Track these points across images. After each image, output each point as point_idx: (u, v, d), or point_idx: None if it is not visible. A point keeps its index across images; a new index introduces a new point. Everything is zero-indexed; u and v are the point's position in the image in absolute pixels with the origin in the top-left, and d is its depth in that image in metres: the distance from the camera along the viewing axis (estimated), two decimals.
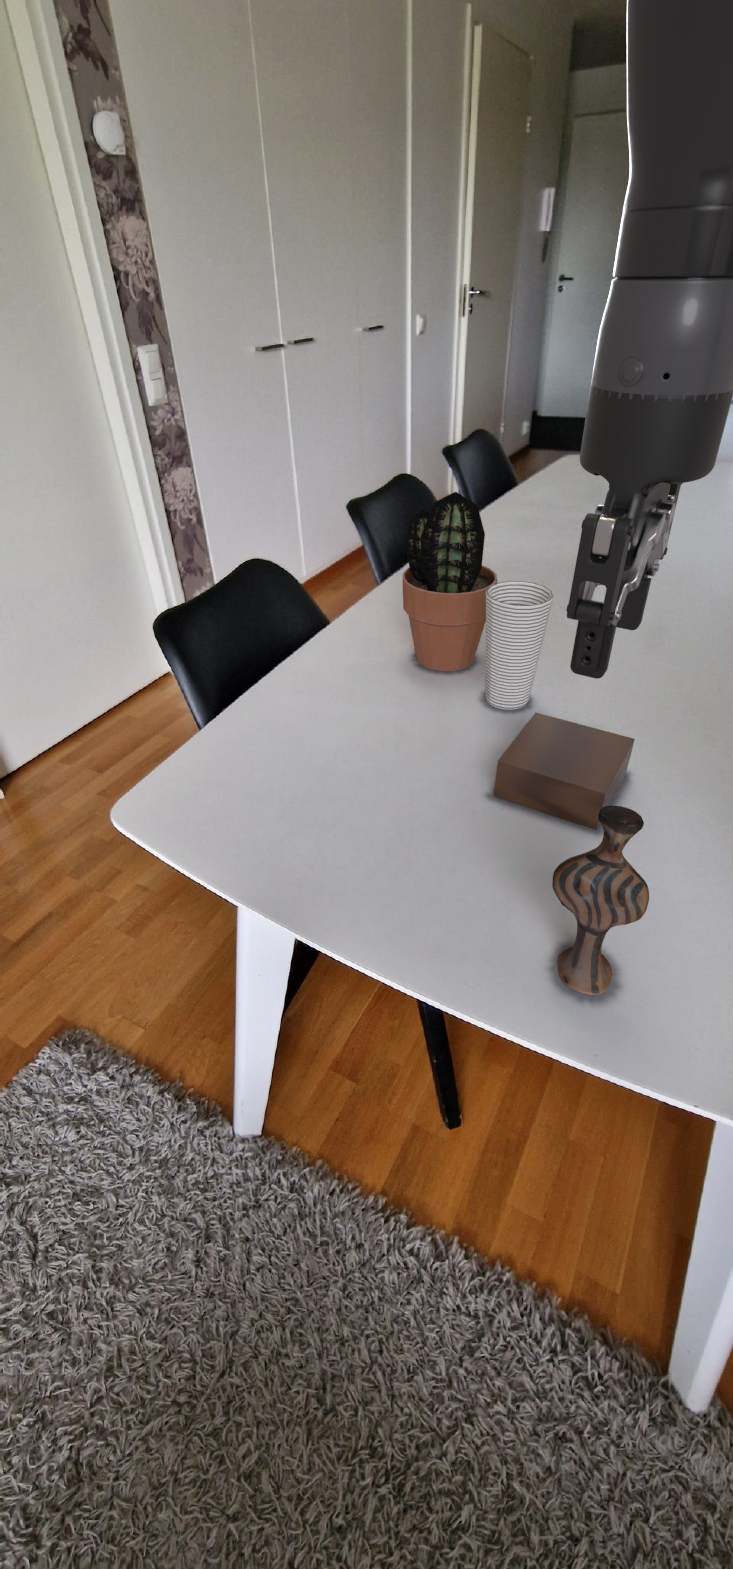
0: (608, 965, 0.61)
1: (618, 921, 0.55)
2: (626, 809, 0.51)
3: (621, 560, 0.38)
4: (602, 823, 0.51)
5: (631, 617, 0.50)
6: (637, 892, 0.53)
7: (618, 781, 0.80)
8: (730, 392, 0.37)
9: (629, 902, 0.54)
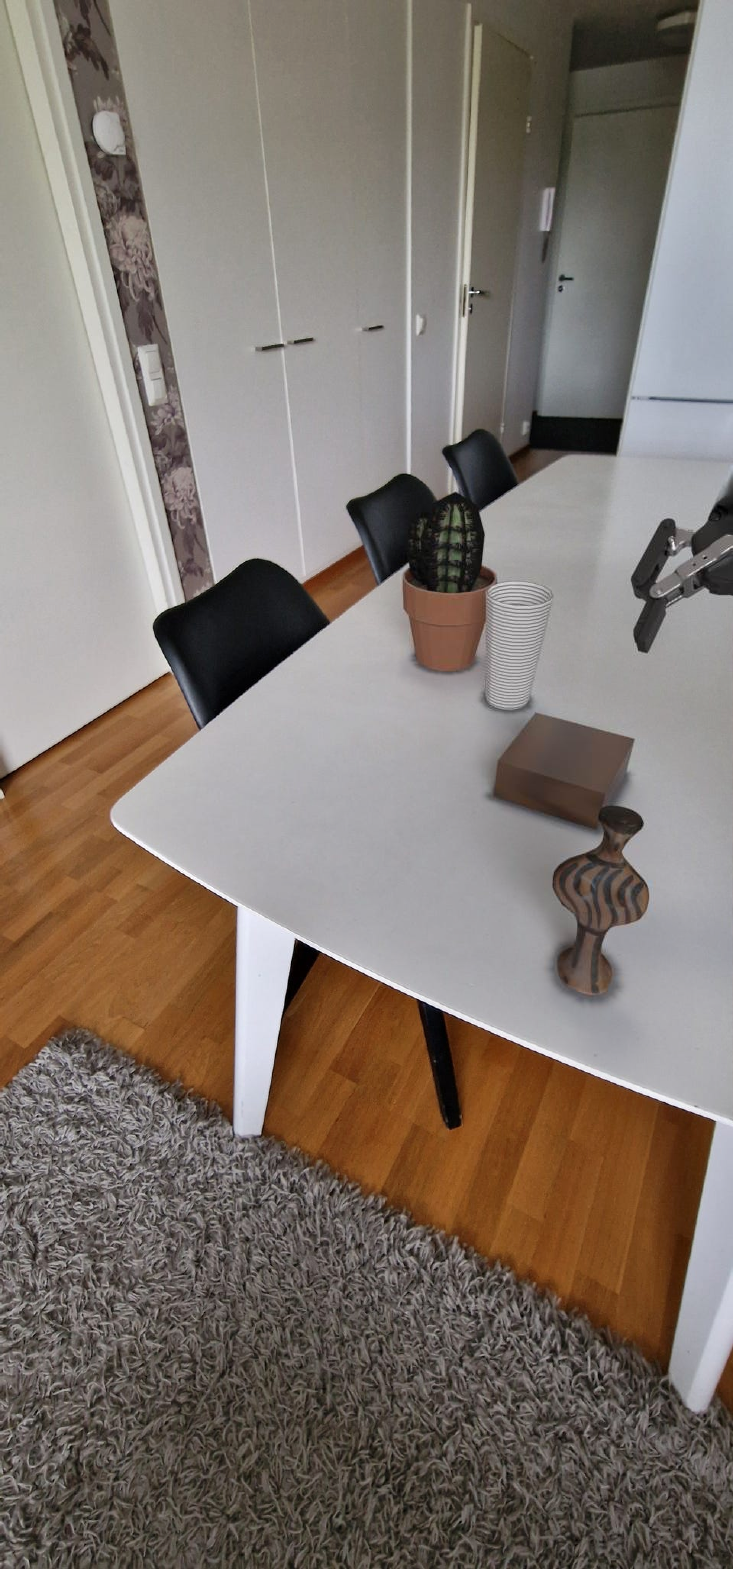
0: (608, 965, 0.61)
1: (618, 921, 0.55)
2: (626, 809, 0.51)
3: (653, 540, 0.56)
4: (602, 823, 0.51)
5: None
6: (637, 892, 0.53)
7: (618, 781, 0.80)
8: None
9: (629, 902, 0.54)
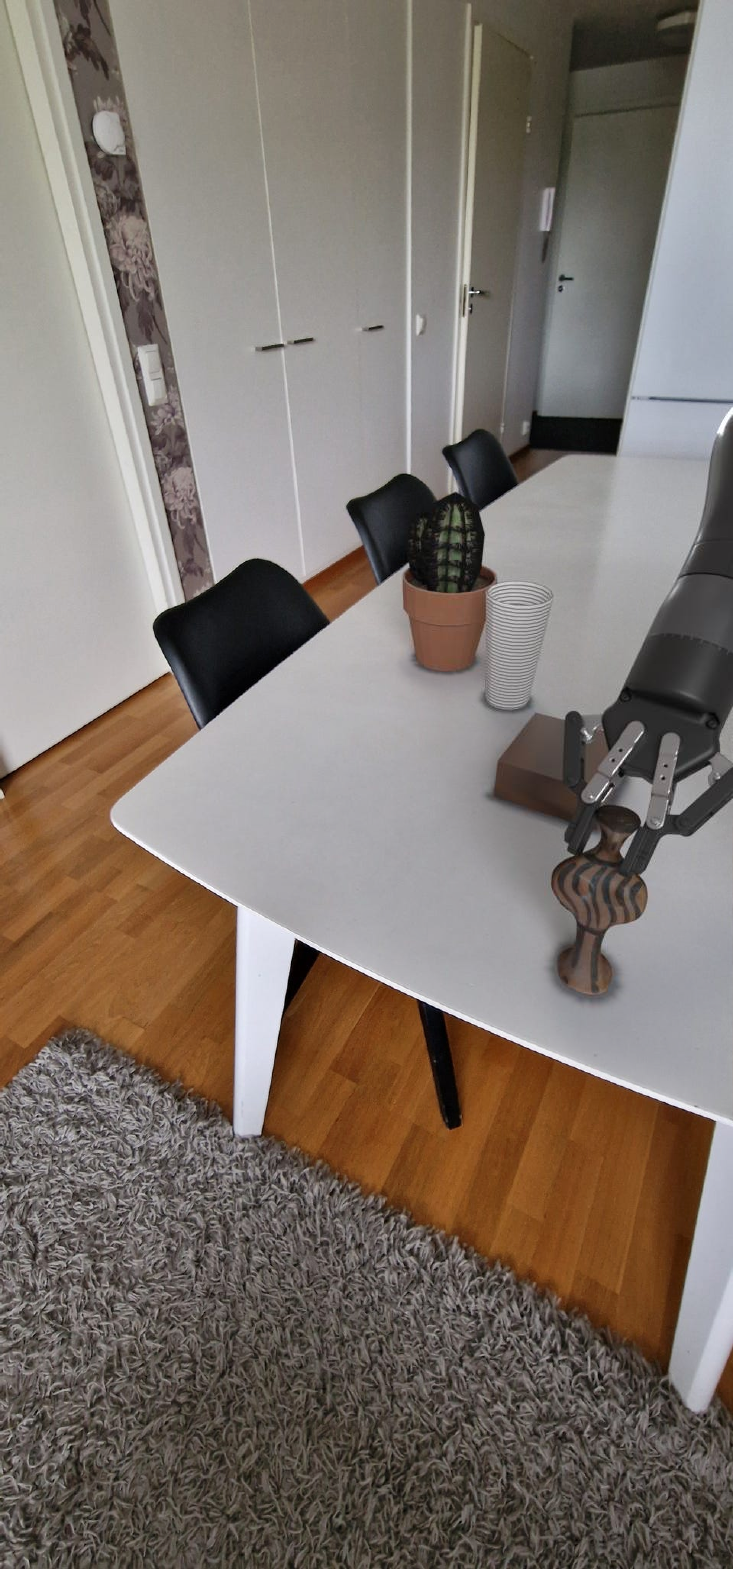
0: (608, 965, 0.61)
1: (617, 921, 0.55)
2: (623, 808, 0.51)
3: (566, 737, 0.54)
4: (599, 822, 0.51)
5: None
6: (635, 891, 0.53)
7: None
8: (683, 635, 0.49)
9: (628, 901, 0.54)
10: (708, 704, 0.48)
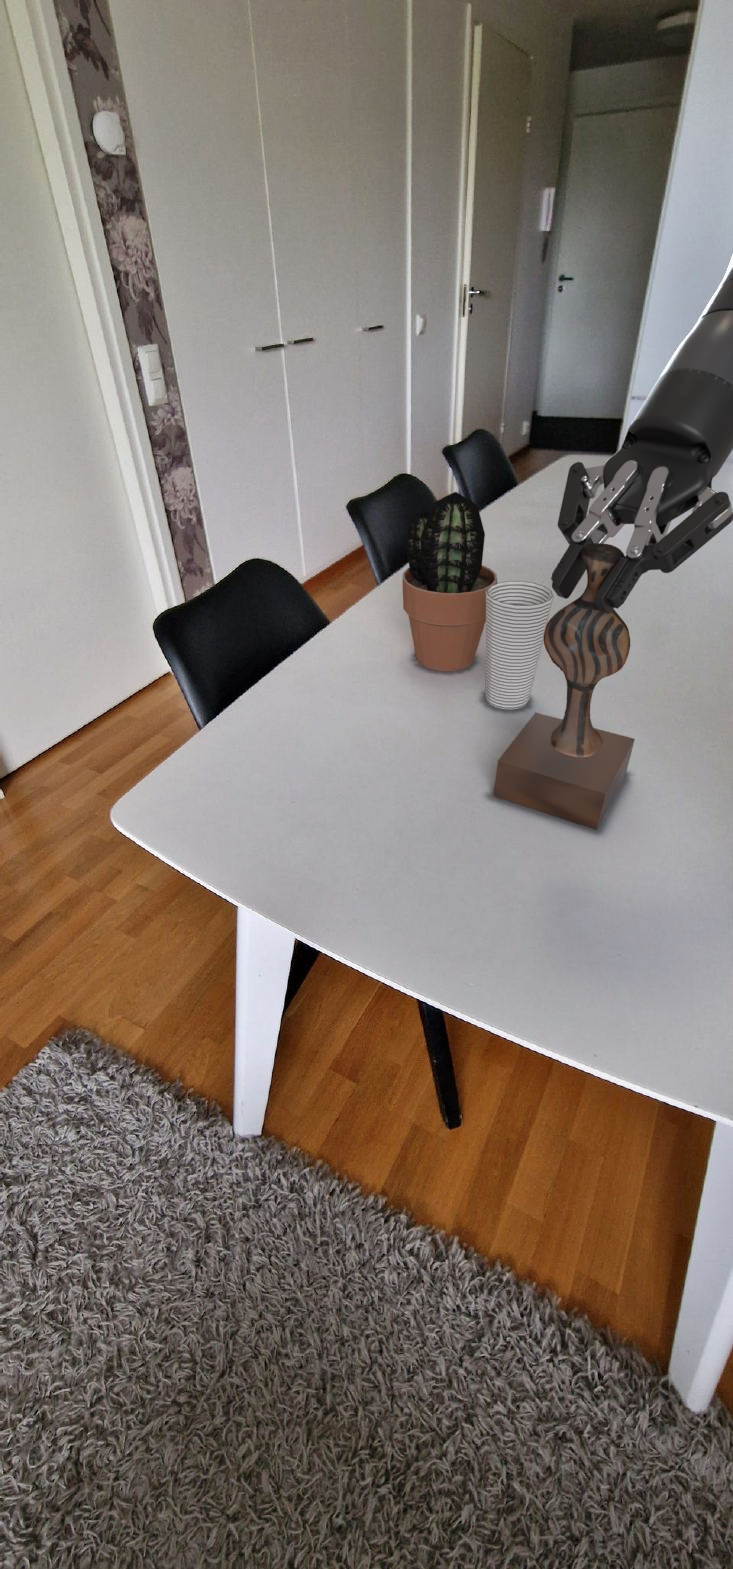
0: (599, 737, 0.63)
1: (601, 672, 0.57)
2: None
3: (567, 486, 0.56)
4: (583, 556, 0.53)
5: None
6: (617, 635, 0.55)
7: (618, 781, 0.80)
8: (683, 369, 0.50)
9: (610, 647, 0.56)
10: (698, 433, 0.50)
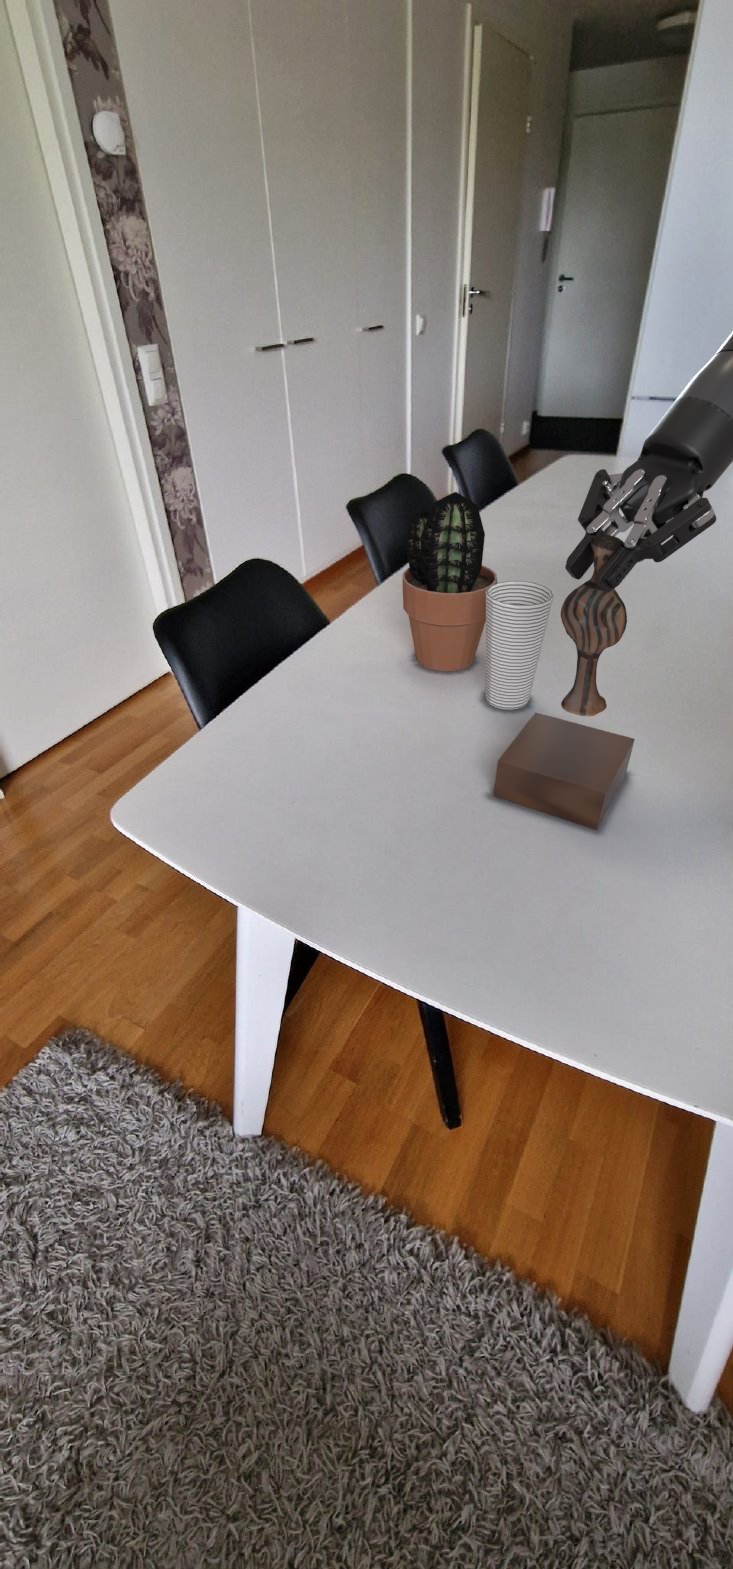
0: (603, 702, 0.74)
1: (602, 643, 0.69)
2: None
3: (591, 488, 0.69)
4: (591, 544, 0.66)
5: None
6: (615, 612, 0.67)
7: (618, 781, 0.80)
8: (688, 397, 0.62)
9: (610, 622, 0.68)
10: (692, 449, 0.61)
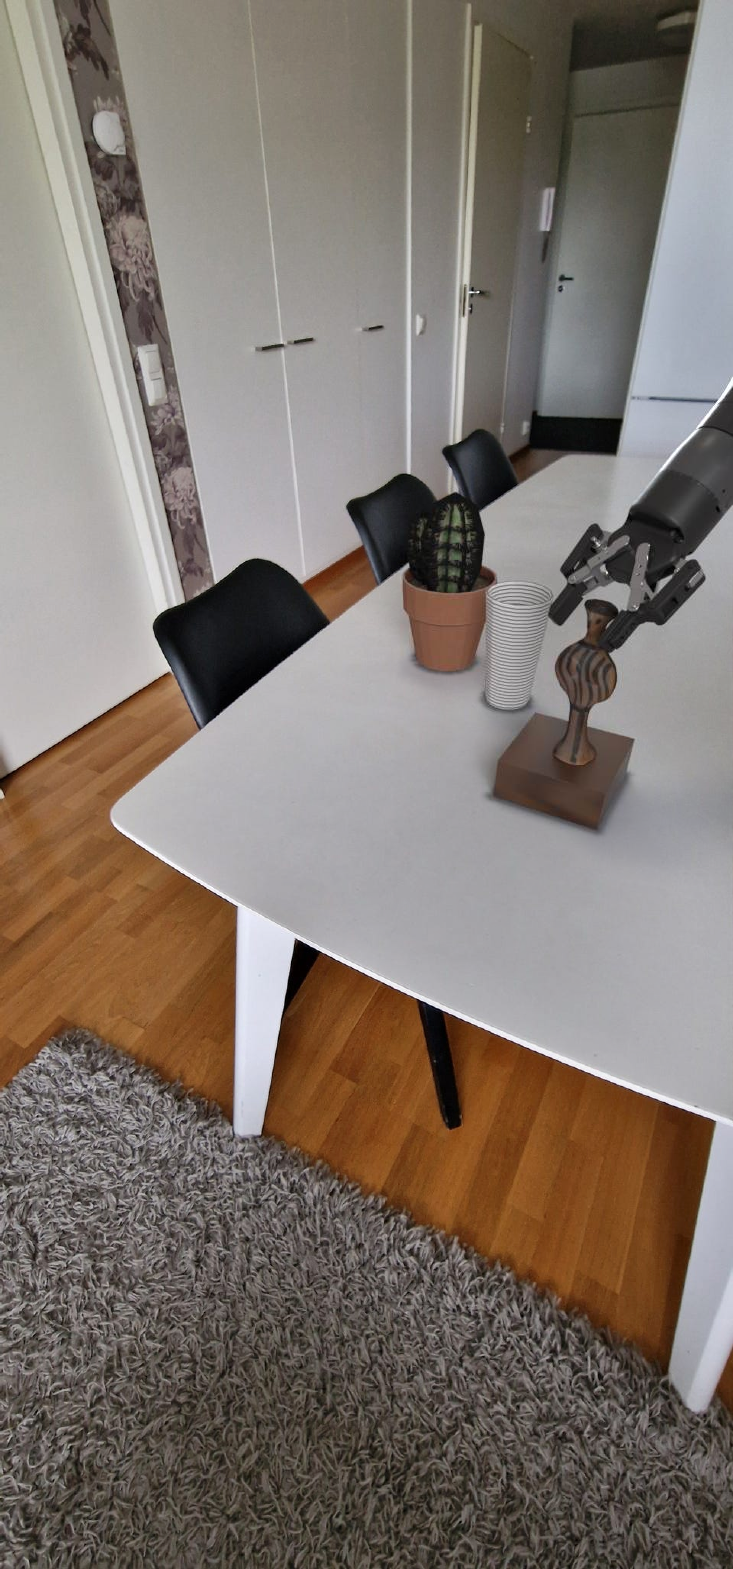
0: (593, 751, 0.78)
1: (593, 699, 0.73)
2: (606, 601, 0.69)
3: (581, 540, 0.73)
4: (585, 607, 0.69)
5: None
6: (606, 671, 0.70)
7: (618, 781, 0.80)
8: (670, 470, 0.65)
9: (601, 680, 0.71)
10: (674, 520, 0.64)
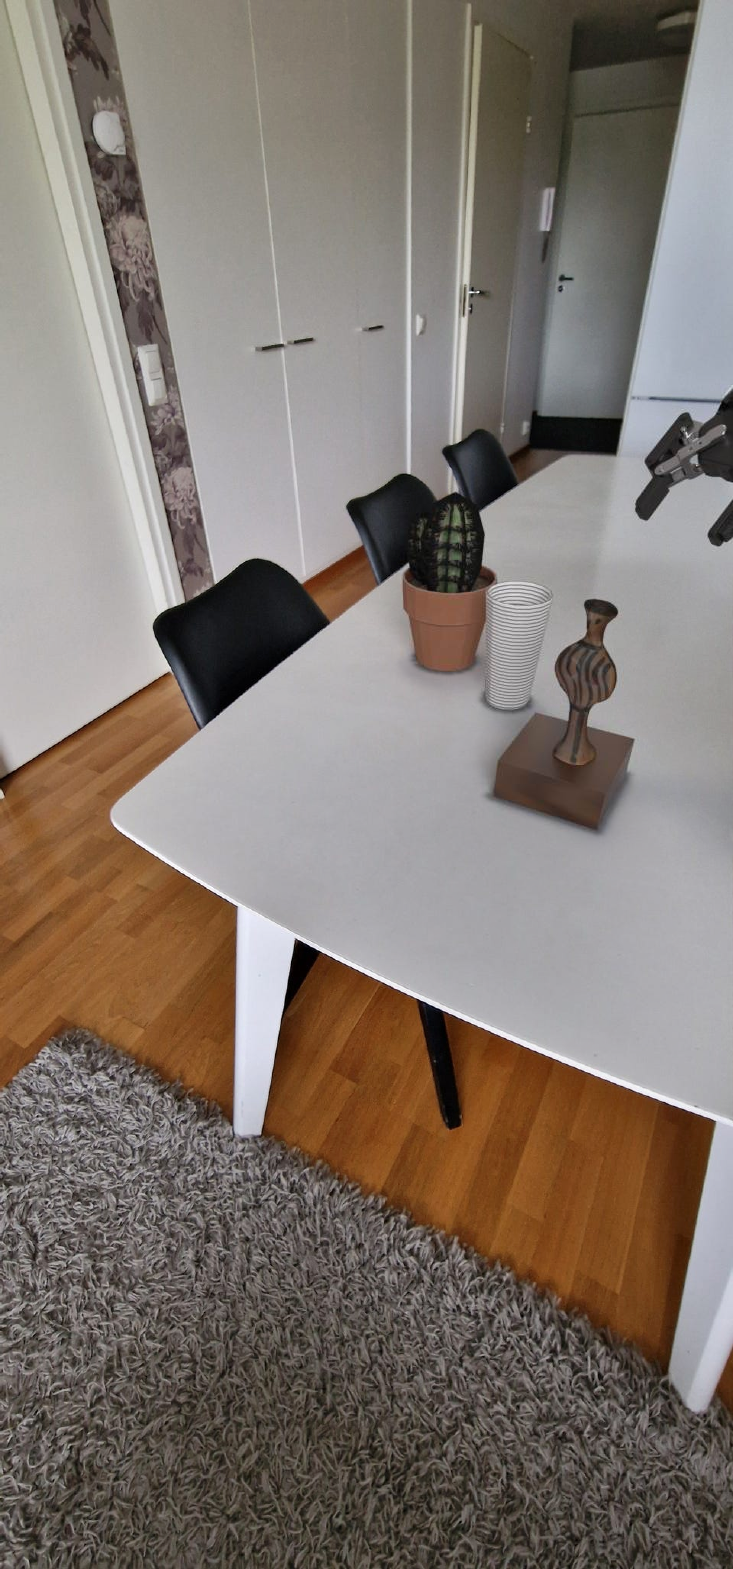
0: (593, 751, 0.78)
1: (593, 698, 0.73)
2: (606, 601, 0.69)
3: (670, 429, 0.70)
4: (584, 607, 0.69)
5: None
6: (606, 671, 0.70)
7: (618, 781, 0.80)
8: None
9: (600, 680, 0.71)
10: None
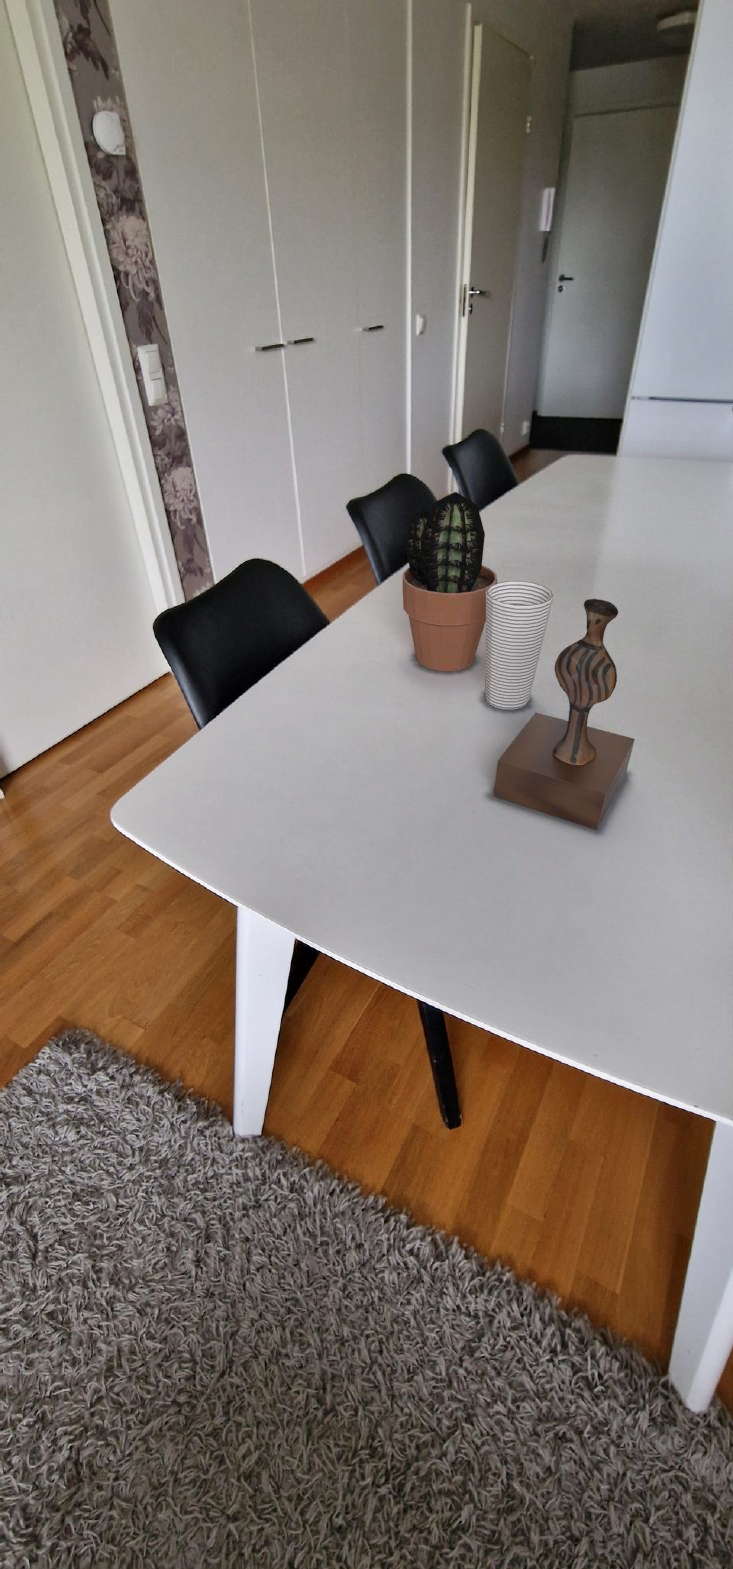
0: (593, 751, 0.78)
1: (593, 698, 0.73)
2: (606, 601, 0.69)
3: None
4: (584, 607, 0.69)
5: None
6: (606, 671, 0.70)
7: (618, 781, 0.80)
8: None
9: (600, 680, 0.71)
10: None
